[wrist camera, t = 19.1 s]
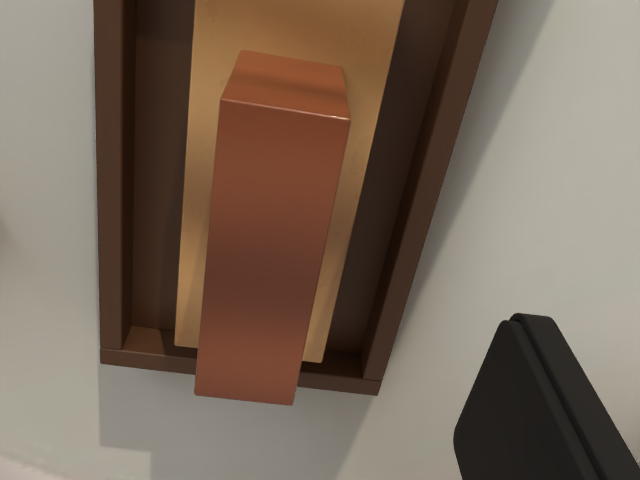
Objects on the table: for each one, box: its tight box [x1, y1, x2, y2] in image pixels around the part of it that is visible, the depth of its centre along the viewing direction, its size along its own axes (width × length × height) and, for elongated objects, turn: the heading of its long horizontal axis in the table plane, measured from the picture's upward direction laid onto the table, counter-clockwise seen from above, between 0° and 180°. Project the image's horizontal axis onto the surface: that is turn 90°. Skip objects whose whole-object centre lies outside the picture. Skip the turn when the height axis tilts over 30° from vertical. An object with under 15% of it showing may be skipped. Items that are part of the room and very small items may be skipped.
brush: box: [174, 0, 405, 406], centre depth 17 cm, size 12×5×7 cm, turn 170°
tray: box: [93, 0, 498, 396], centre depth 19 cm, size 18×11×2 cm, turn 170°
